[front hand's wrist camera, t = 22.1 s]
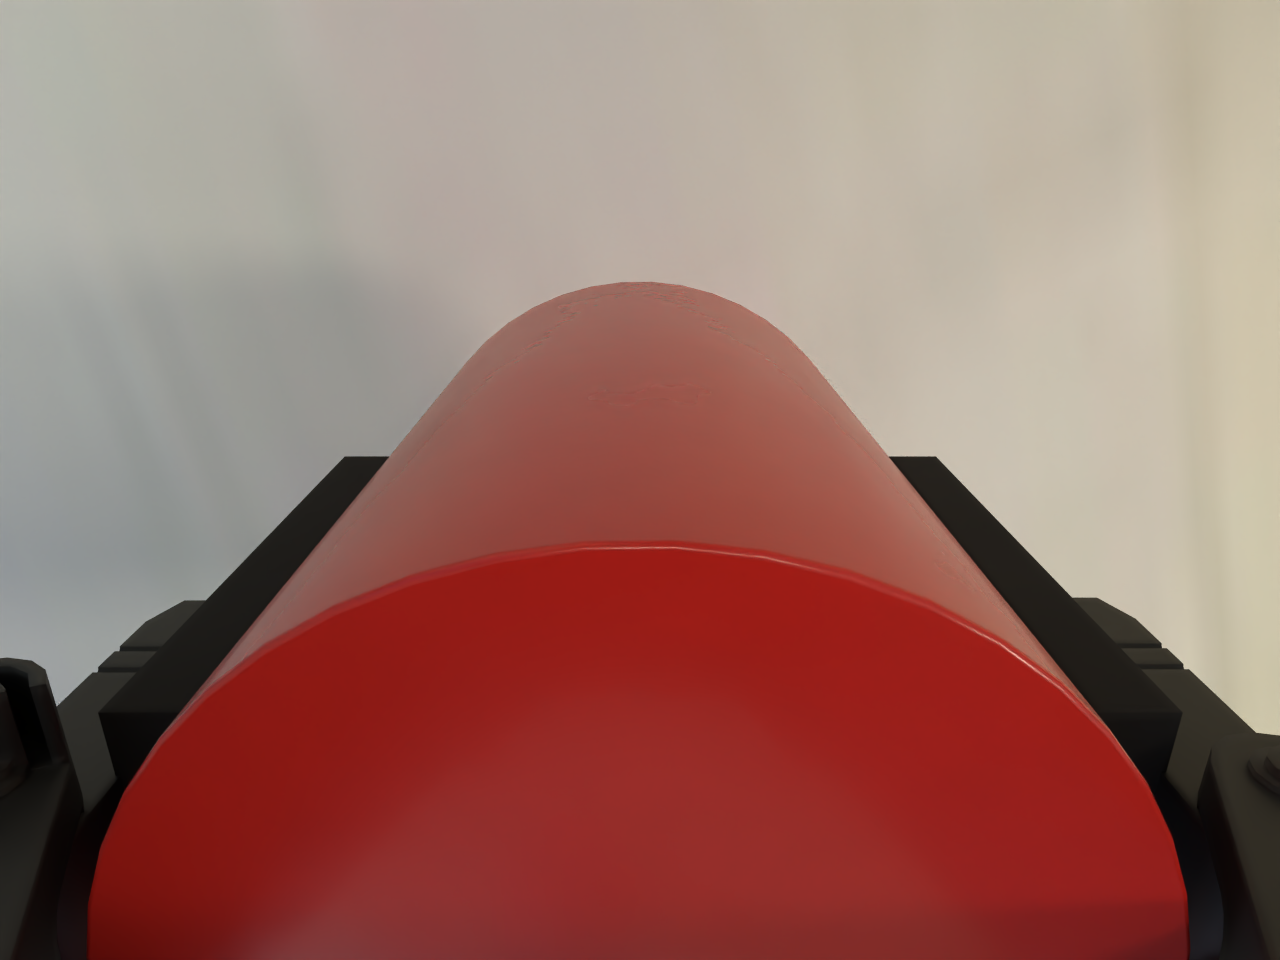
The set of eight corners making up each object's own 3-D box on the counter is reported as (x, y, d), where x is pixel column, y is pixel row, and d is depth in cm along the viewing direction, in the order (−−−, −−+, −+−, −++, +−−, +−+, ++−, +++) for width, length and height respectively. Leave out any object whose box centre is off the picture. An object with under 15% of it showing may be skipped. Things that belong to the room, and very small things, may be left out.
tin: (432, 669, 17) (170, 1324, 7) (416, 268, 14) (-37, 507, 5) (823, 687, 17) (1049, 1352, 8) (885, 294, 14) (1366, 577, 5)
